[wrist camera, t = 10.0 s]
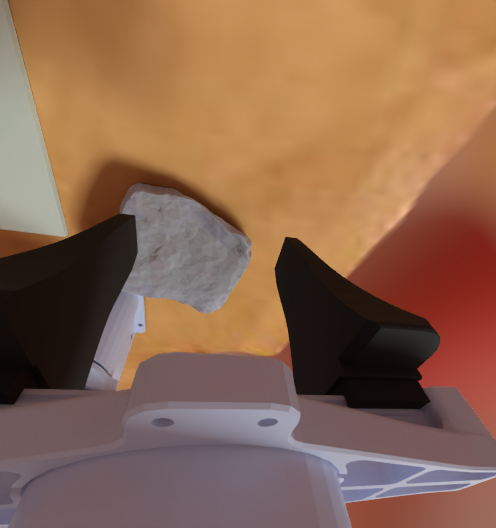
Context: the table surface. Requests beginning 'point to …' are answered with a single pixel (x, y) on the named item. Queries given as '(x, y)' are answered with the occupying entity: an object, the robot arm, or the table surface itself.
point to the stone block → (183, 249)
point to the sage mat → (23, 147)
